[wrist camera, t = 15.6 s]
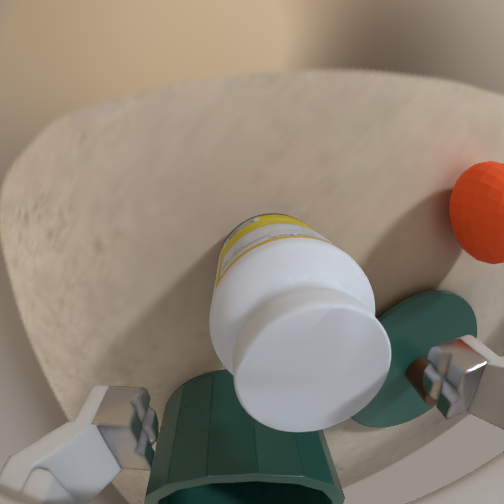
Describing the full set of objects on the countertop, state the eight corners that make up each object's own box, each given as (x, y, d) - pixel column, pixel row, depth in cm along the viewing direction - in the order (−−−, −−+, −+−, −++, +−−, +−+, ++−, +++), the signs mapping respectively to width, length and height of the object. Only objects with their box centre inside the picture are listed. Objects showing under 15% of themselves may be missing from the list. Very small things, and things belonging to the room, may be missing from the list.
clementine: (494, 158, 18) (558, 163, 11) (497, 239, 20) (556, 262, 13) (426, 162, 18) (498, 165, 11) (431, 257, 20) (495, 291, 13)
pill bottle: (282, 326, 20) (324, 465, 9) (198, 278, 19) (160, 407, 8) (340, 247, 19) (451, 335, 8) (256, 189, 18) (294, 218, 7)
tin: (317, 358, 21) (358, 456, 12) (310, 457, 24) (331, 534, 15) (147, 371, 21) (113, 469, 12) (182, 466, 24) (174, 544, 15)
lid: (481, 276, 21) (517, 295, 16) (450, 397, 24) (472, 423, 20) (342, 300, 20) (369, 333, 16) (331, 432, 24) (344, 470, 19)
